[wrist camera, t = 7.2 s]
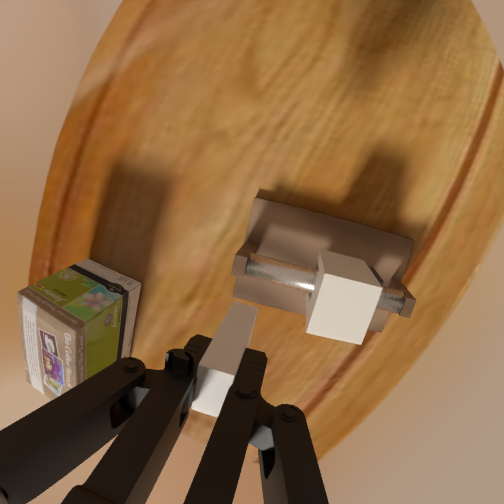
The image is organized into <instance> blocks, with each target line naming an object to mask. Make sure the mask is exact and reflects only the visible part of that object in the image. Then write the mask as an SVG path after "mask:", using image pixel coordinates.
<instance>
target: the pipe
mask: <svg viewBox="0 0 504 504" xmlns="http://www.w3.org/2000/svg"><path fill="white" fill-rule="evenodd" d="M318 272H319V270H318V269H314V268H310V267H306V266H302V265H298V264H294V263H290V262H286V261H282V260H278V259H274V258H270V257H267V256H263V255H259V254H255V253H251V254H250V257H249V260H248V263H247V267H246V272H245V276H246V277H250V278H253V279H257V280H261V281H265V282H269V283H273V284H277V285H281V286H285V287H288V288H292V289H296V290H300V291H304V292H308V293H312V292H313V288H314V285H315V282H316V278H317V275H318ZM382 287H383V289H382V292H381V294H380V297H379V300H378V303H377V305H376V308H375V309H379V310H383V311H388V312H392V313H396V314H397V313H399V312H400V310H401V308H402V306H403V303H404V292H403V291H401V290H397V289H393V288H389V287H385V286H382Z"/></svg>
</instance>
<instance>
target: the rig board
mask: <svg viewBox="0 0 504 504" xmlns="http://www.w3.org/2000/svg"><path fill="white" fill-rule="evenodd" d="M413 243H414V240H413V239H410V238H407V237H404V236H400V235H397V234H394V233H390V232H387V231H383V230H380V229H377V228H373V227H370V226H366V225H363V224H359V223H355V222H352V221H348V220H344V219H341V218H337V217H333V216H330V215H326V214H322V213H318V212H314V211H310V210H307V209H303V208H299V207H295V206H291V205H287V204H282V203H278V202H274V201H270V200H266V199H262V198H257V197H255V198H254V201H253V205H252V210H251V214H250V219H249V223H248V228H247V233H246V237H245V242H244V245H243V246H242V247H241V248H240V250H239V251H238V252H237V253H236V254H235V258H234V263H233V268H232V272H231V274H232V275H236V276H237V279H236V283H235V288H234V293H233V297H236V298H240V299H243V300H247V301H251V302H255V303H259V304H262V305H266V306H270V307H274V308H278V309H282V310H286V311H290V312H294V313H298V314H302V315H306V293H307V292H304V291H300V290H296V289H292V288H288V287H285V286H281V285H277V284H273V283H269V282H265V281H261V280H257V279H253V278H250V277H246V276H245V272H246V267H247V263H248V260H249V257H250V254H251V253H255V254H259V255H263V256H267V257H270V258H274V259H278V260H282V261H286V262H290V263H294V264H298V265H302V266H306V267H310V268H314V269H318V270H319V268H318V262H317V254H318V251H319V249H323V250H327V251H331V252H335V253H338V254H342V255H346V256H350V257H354V258H358V259H361V260H364V261H365V263H366V264H367V266H369V267H373V268H374V269H375V270H376V271H377V273H378V274H379V275H380V277H381V278H382V280H383V281H384V284H383V286H385V287H389V288H393V289H397V290H401V291H403V292H404V303H403V306H402V308H401V310H400V312H399V313H398V314H399V316H403V317H407V318H410V315H411V313H412V310H413V308H414V305H415V303H416V299H415V298H414V297H413V295H412V294H411V293H410V292H409V291H408V290H407V288H406V287H405V286H404V285H403V284H402V283H401V280H402V277H403V274H404V271H405V268H406V265H407V262H408V259H409V256H410V253H411V250H412V246H413ZM388 315H389V312H388V311H383V310H379V309H375V311H374V313H373V316H372V319H371V321H370V324H369V326H368V329H367V330H372V331H376V332H382V330H383V327H384V325H385V322H386V320H387V317H388Z"/></svg>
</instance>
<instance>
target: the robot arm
mask: <svg viewBox="0 0 504 504" xmlns="http://www.w3.org/2000/svg"><path fill="white" fill-rule="evenodd" d="M258 309H259V308H258V307H254V306H250V305H247V304H243V303H239V302H236V301H233V303H232V305H231V307H230V309H229V310H228V312H227V314H226V316H225V318H224V319H223V321H222V323H221V325H220V327H219V329H218V330H217V332H216V334H215V336H214V338H213V339H212V338H208V337H205V336H202V335H199V334H197V335H195V336H194V337H192V338H190V340H189V341H188V343H187V345H186V346H185V347H184V349H172V350H169V351H168V352H167V353H166V359H165V368H164V370H153V369H146V367H145V364H144V363H143V362H142V361H141V360H139V359H137V358H133V357H124V358H121V359H119V360H117V361H116V362H114V363H113V364H111V365H109V366H108V367H106V368H104V369H103V370H101V371H100V372H98V373H96V374H95V375H93V376H91V377H90V378H88V379H86V380H85V381H83V382H82V383H80V384H78V385H77V386H75V387H73V388H72V389H70V390H68V391H67V392H65V393H63V394H62V395H60V396H58V397H57V398H55V399H53V400H52V401H50V402H48V403H47V404H45V405H43V406H42V407H40V408H38V409H37V410H35V411H33V412H32V413H30V414H28V415H27V416H25V417H23V418H21V419H20V420H18V421H16V422H14V423H13V424H11V425H10V426H8V427H6V428H4V429H3V430H1V431H0V504H26V503H28V502H29V501H31V500H32V499H34V498H36V497H37V496H39V495H40V494H41V493H43V492H44V491H45V490H47V489H48V488H49V487H51V486H52V485H53V484H55V483H56V482H57V481H59V480H60V479H62V478H63V477H64V476H66V475H67V474H68V473H69V472H71V471H72V470H73V469H75V468H76V467H77V466H79V465H80V464H81V463H82V462H84V461H85V460H86V459H88V458H89V457H90V456H91V455H93V454H94V453H95V452H97V451H98V450H99V449H100V448H102V447H103V446H104V445H105V444H106V443H108V442H109V441H110V440H111V439H113V438H114V437H115V436H116V435H118V436H117V437H116V439H115V440H114V441H113V443H112V444H111V446H110V447H109V449H108V450H107V452H106V453H105V455H104V456H103V457H102V459H101V460H100V462H99V463H98V465H97V466H96V467H95V469H94V470H93V472H92V473H91V475H90V476H89V478H88V479H87V481H86V482H85V483H84V484H83V485H77V486H75V487H73V488H72V490H71V491H70V492H69V493H68V494H67V496H66V497H65V499H64V500H63V501H62V503H61V504H145V503H146V501H147V499H148V497H149V495H150V493H151V491H152V489H153V487H154V485H155V483H156V481H157V479H158V477H159V475H160V473H161V471H162V469H163V467H164V465H165V463H166V461H167V459H168V457H169V455H170V453H171V451H172V449H173V447H174V445H175V443H176V441H177V439H178V437H179V435H180V433H181V430H182V428H183V426H184V424H185V422H186V420H187V418H188V414H189V409H190V407H191V405H192V409H193V410H196V411H199V412H202V413H205V414H208V415H211V416H215V417H218V418H217V421H216V423H215V426H214V428H213V431H212V433H211V436H210V439H209V441H208V444H207V446H206V449H205V451H204V454H203V456H202V459H201V462H200V464H199V467H198V469H197V472H196V474H195V476H194V479H193V482H192V484H191V486H190V489H189V491H188V494H187V496H186V499H185V501H184V503H183V504H232V502H233V498H234V495H235V491H236V488H237V484H238V480H239V477H240V473H241V469H242V465H243V461H244V458H245V454H246V450H247V446H248V443H249V444H251V445H253V446H255V447H256V448H258V455H259V464H260V473H261V481H262V490H263V498H264V504H329V503H328V499H327V495H326V491H325V488H324V484H323V480H322V477H321V473H320V470H319V466H318V462H317V458H316V455H315V451H314V447H313V444H312V440H311V437H310V433H309V429H308V426H307V422H306V418H305V415H304V413H303V412H302V411H301V410H300V409H299V408H298V407H296V406H294V405H289V404H281V405H278V406H276V407H275V406H273V405H271V404H269V403H267V402H266V401H265V400H264V399H263V398H262V396H261V393H260V391H261V386H262V381H263V377H264V373H265V368H266V364H267V360H268V359H267V357H266V354H265V353H264V352H261V351H257V350H253V349H249V348H248V347H249V344H250V340H251V336H252V332H253V328H254V324H255V320H256V316H257V313H258Z"/></svg>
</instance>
